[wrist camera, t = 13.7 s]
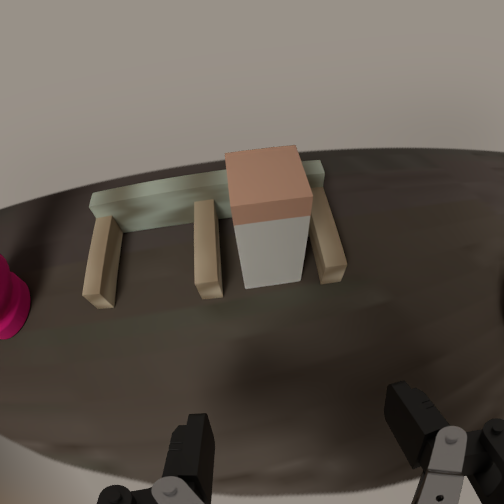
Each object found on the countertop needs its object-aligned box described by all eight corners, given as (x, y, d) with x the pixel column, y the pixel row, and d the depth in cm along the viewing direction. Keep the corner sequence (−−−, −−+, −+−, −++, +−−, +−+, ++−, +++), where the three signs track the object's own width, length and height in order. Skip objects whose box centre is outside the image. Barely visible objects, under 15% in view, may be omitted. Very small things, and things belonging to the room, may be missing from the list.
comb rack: (97, 308, 22) (71, 285, 19) (110, 222, 27) (92, 193, 23) (340, 281, 22) (352, 252, 19) (315, 194, 27) (319, 160, 23)
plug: (245, 289, 22) (230, 206, 15) (239, 242, 25) (224, 153, 17) (300, 281, 23) (313, 196, 15) (290, 235, 25) (295, 145, 17)
